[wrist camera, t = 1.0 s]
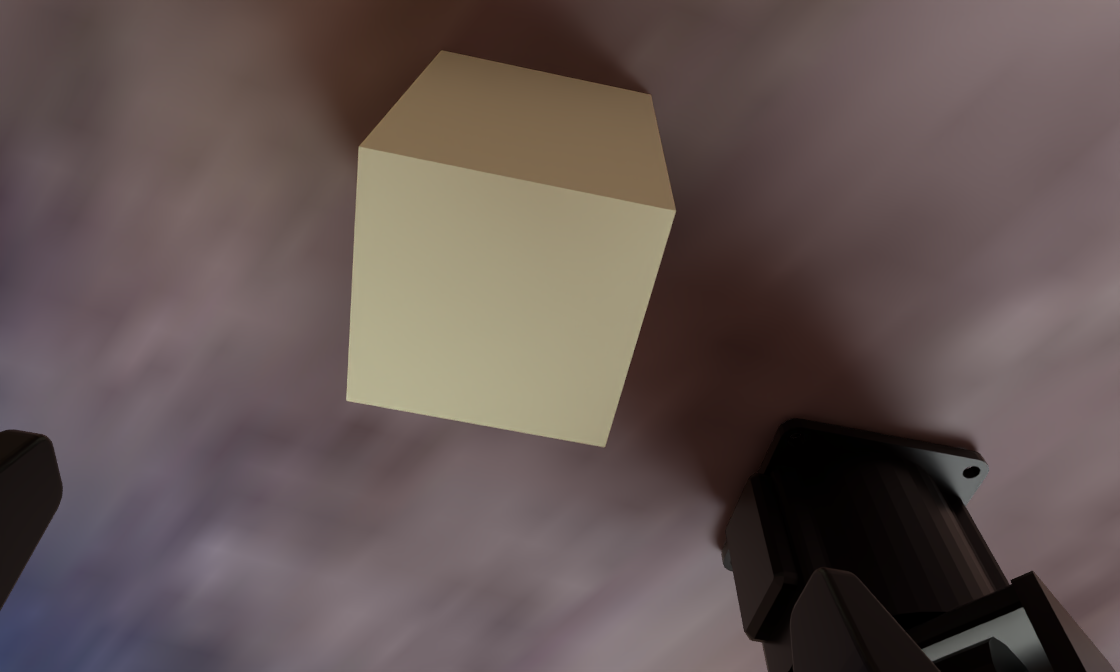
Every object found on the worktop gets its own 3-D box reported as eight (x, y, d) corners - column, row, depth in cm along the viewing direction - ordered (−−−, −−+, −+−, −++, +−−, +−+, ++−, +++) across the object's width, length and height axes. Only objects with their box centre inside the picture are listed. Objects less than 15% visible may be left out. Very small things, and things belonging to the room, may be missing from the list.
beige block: (650, 94, 18) (676, 211, 12) (603, 276, 20) (605, 447, 14) (441, 49, 17) (359, 147, 11) (421, 241, 20) (346, 400, 14)
